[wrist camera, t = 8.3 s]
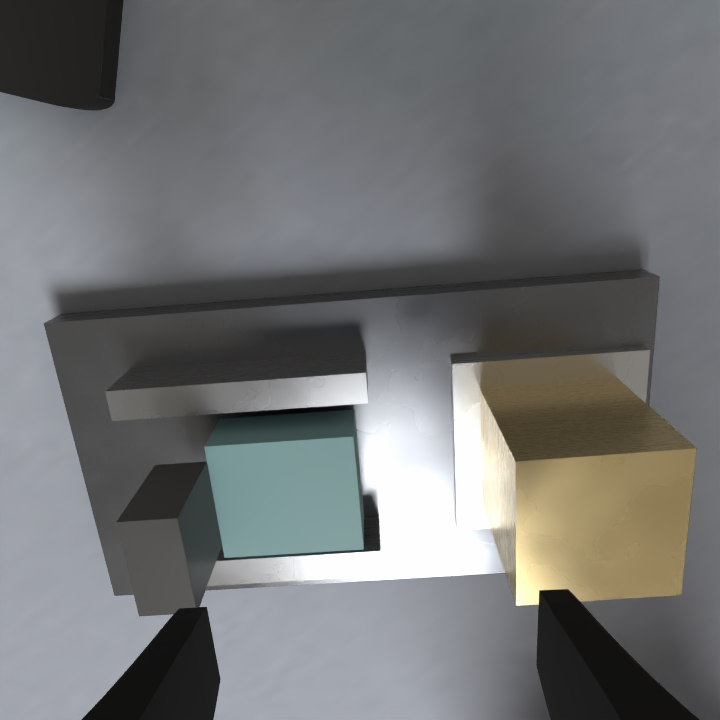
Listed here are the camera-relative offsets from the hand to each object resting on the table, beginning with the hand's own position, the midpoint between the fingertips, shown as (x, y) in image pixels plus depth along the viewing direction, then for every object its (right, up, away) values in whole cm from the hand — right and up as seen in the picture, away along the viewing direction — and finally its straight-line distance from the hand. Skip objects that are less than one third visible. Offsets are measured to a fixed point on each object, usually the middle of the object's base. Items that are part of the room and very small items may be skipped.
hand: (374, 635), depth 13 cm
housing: (+6, +3, +8) cm, 10 cm away
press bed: (0, +3, +9) cm, 10 cm away
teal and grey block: (-3, +2, +8) cm, 9 cm away
